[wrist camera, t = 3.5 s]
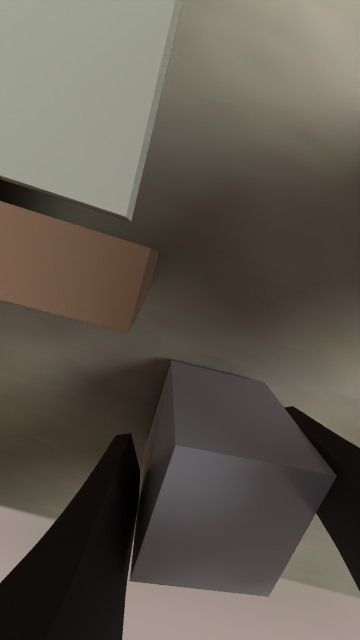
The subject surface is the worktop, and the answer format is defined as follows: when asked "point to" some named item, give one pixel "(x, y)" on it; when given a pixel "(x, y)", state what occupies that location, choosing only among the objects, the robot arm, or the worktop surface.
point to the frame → (72, 269)
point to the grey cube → (223, 485)
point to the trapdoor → (82, 95)
